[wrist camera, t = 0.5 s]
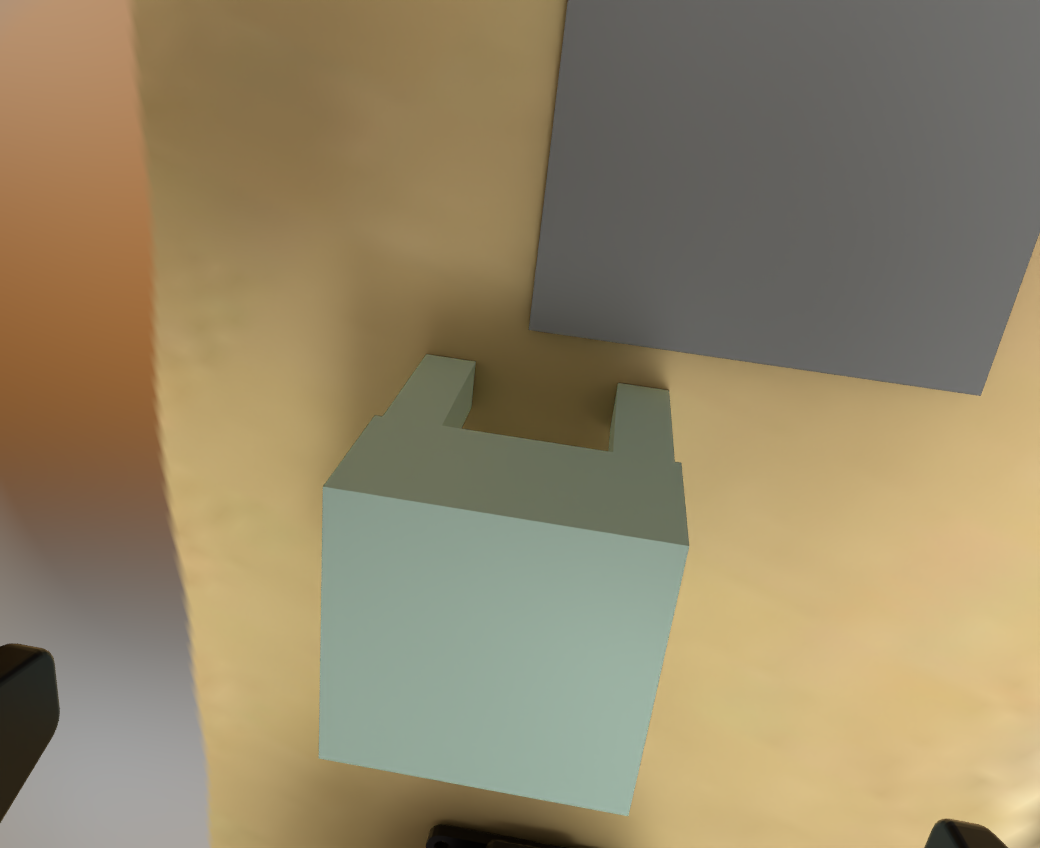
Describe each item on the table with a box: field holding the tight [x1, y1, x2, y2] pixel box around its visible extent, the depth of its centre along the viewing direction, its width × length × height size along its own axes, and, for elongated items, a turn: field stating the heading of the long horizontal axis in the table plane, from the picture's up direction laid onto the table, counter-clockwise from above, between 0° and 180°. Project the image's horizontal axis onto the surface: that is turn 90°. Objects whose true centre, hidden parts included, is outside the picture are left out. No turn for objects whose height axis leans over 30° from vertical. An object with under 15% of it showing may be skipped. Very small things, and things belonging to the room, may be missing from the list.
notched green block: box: [319, 354, 689, 816], centre depth 18 cm, size 6×6×7 cm
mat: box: [529, 0, 1040, 396], centre depth 17 cm, size 10×10×1 cm
